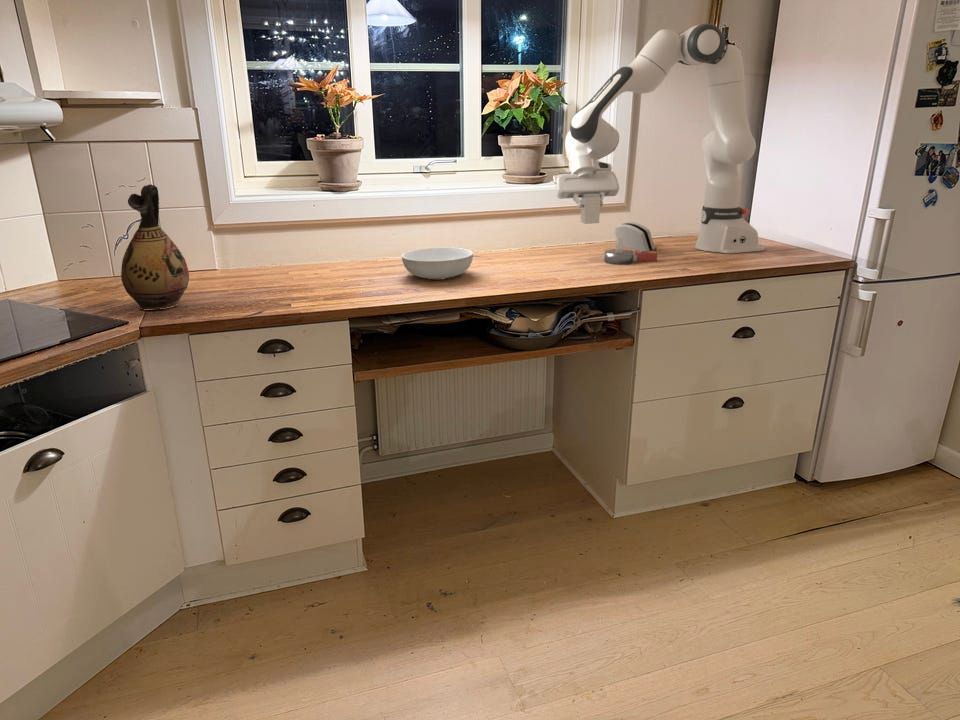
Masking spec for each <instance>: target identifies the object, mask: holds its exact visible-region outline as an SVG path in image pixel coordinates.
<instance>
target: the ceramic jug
mask: <svg viewBox="0 0 960 720" xmlns="http://www.w3.org/2000/svg"><path fill="white" fill-rule="evenodd" d="M159 196H160V195H159V189H158V187H157V186H156V185H154V184H152V183H151V184H147V185H144V186H143V187H142V188H141V190H140V194H137V193H132V194H130V195H129V196H128V199H127V204H128V206H129V207H130V208H131V209H133V210H135V211H137V212H139V215H140V221H139V225H138V228H137V230H136V231H135V232H134V234H133V236H132V238H131V239H130V241H129V243H128V246H127V248H126V249H125V252H124V255H123V257H122V261H121V272H120V275H121V277H120V279H121V282H122V286H123V287H124V290H125V292H126V293H127V294H128V295H129V297H131V298H132V299H133V300H134V301H135V302H136V303H137V305H138V306H139V307H140V308H142V309H160V308H167V307H171V306H174V305H176V304H178V305H179V302H180V300H181V298H182V296H183V295H184V293H185V291H186V290H187V289H188V286H189V282H190V281H189V280H190V273H189V267H188V264H187V262H186V259H185V257H184V255H183V252H182V251H180V249H179V248H178V245H176V244H175V243H174V241H173V240H172V239H171V237H169V235H168V234H167V233H166V232H165V231H164V230H163V229H162V228H161V227H160V224H159V220H160V219H159V218H160V217H159V212H160V197H159ZM139 307H138V308H139Z"/></svg>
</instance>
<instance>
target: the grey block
mask: <svg viewBox="0 0 960 720" xmlns="http://www.w3.org/2000/svg"><path fill="white" fill-rule="evenodd" d="M580 200H583V203H584V206H583V208H580V223H582V224H584V225H588V224H600V211H601V209H600V208H601V207H600V194H598V193H581V198H580Z"/></svg>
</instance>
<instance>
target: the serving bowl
mask: <svg viewBox="0 0 960 720" xmlns="http://www.w3.org/2000/svg"><path fill="white" fill-rule="evenodd" d="M473 257H474V252H473V251H472V250H470V249H469V248H468V249H467V248H462V247H452V246H435V247H433V246H432V247H423V248H416V249H412V250H409V251H406V252H404V253H402V254H401V261H402V264H403V266H404V268H405V269H406V271H407V272H409V273H410V274H411V275H413V276H416V277H418V278H422V279H426V278H429V279H428V280H431V279H441V280H443V279H442V278H448V279H450V278H449V277H451V278H453V277H456V276H459V275H462V274H463V273H465V272H466V271H468V269H469V268H470V267H471V264H472V263H473V259H474V258H473Z"/></svg>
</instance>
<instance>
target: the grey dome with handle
mask: <svg viewBox="0 0 960 720" xmlns="http://www.w3.org/2000/svg"><path fill="white" fill-rule="evenodd" d="M615 237H616V236H615ZM623 240H624V238H622V237H616V238H615V249H607V250H605V251H604V259H603V261H604V263H606V264H610V265H630V264H633V263H636V262H637V263H641V262H643V263H644V262H657V261H658V254H659V253H658V251H655V250H649V251H640V250H637V251H633V250H630V249H629V250H628V249H624V246H623Z"/></svg>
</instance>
